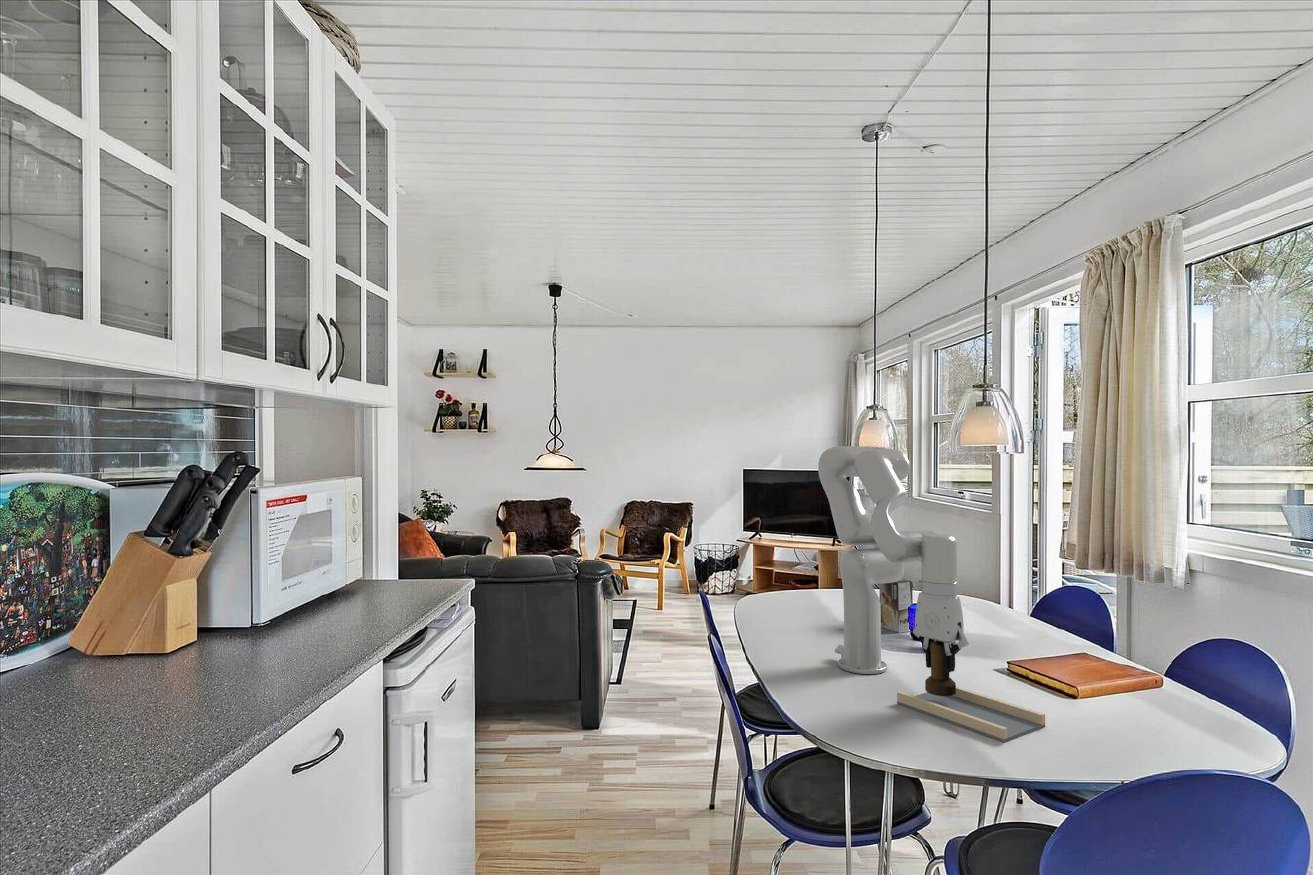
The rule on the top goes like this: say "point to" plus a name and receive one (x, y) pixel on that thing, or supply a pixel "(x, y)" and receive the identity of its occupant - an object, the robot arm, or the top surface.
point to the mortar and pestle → (939, 673)
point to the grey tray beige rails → (977, 713)
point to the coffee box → (895, 605)
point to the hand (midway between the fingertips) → (940, 668)
